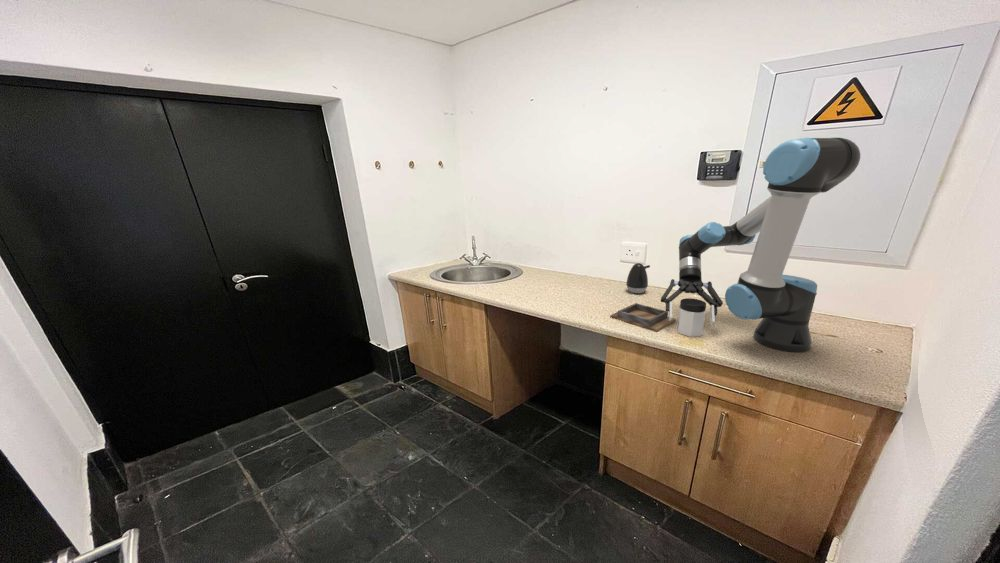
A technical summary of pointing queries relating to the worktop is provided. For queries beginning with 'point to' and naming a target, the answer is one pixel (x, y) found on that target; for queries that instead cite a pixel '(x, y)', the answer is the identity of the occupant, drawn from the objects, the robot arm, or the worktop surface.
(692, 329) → the jar
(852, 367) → the worktop surface
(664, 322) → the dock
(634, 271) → the pump dispenser
